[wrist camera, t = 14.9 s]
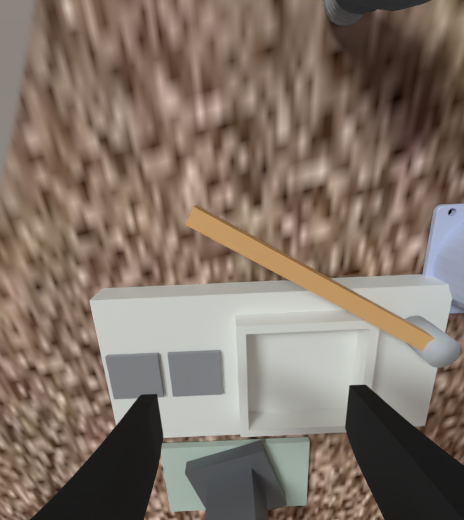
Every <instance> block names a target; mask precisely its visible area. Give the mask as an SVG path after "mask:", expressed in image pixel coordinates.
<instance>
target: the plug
mask: <svg viewBox="0 0 464 520" xmlns="http://www.w3.org/2000/svg"><path fill="white" fill-rule="evenodd" d="M185 475H186V476H187V478H188V480H189V482H190V483H191V485H192V487H193V488H194V490H195V492H196V493H197V495H198V497H199V499H200V500H201V502H202V504H203V505H204V507H205V509H206V514H205V520H269V518H268V510H271V509H275V508H279V507H283V506H286V505H287V501H286V496H285V492H284V490H283V487H282V485H281V483H280V481H279V479H278V476H277V474H276V472H275V470H274V467H273V465H272V463H271V461H270V458H269V456H268V454H267V452H266V450H265V447H264V445H263V443H262V441H261V440H260V441H256V442H253V443H249V444H246V445H242V446H239V447H236V448H232V449H229V450H225V451H222V452H219V453H215V454H212V455H208V456H205V457H201V458H198V459H195V460H191V461H188V462H186V469H185Z"/></svg>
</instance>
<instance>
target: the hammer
mask: <svg viewBox="0 0 464 520" xmlns="http://www.w3.org/2000/svg"><path fill="white" fill-rule="evenodd" d="M185 225H187V226H189V227H191V228H192V229H194V230H196V231H198V232H200V233H202V234H204V235H206V236H207V237H209V238H211V239H213V240H215V241H217V242H219V243H221V244H222V245H224V246H226V247H228V248H230V249H232V250H234V251H236V252H237V253H239V254H241V255H243V256H245V257H247V258H249V259H251V260H253V261H254V262H256V263H258V264H260V265H262V266H264V267H266V268H268V269H269V270H271V271H273V272H275V273H277V274H279V275H281V276H283V277H284V278H286V279H288V280H290V281H292V282H294V283H296V284H298V285H299V286H301V287H303V288H305V289H307V290H309V291H311V292H313V293H314V294H316V295H318V296H320V297H322V298H324V299H326V300H328V301H329V302H331V303H333V304H335V305H337V306H339V307H341V308H343V309H344V310H346V311H348V312H350V313H352V314H354V315H356V316H358V317H359V318H361V319H363V320H365V321H367V322H369V323H371V324H373V325H375V326H376V327H378V328H380V329H382V330H384V331H386V332H388V333H390V334H391V335H393V336H395V337H397V338H399V339H401V340H403V341H405V342H406V343H407V344H408V345H409V346H410V347H411V348H412V349H413V350H414V351H415V352H416V353H418V354H419V355H420V356H421V357H422V358H423V359H424V360H425V361H426V362H427V363H428V364H429V365H431V366H433V367H436V368H441V367H446V366H448V365H450V364H452V363H453V362H454V361H455V360H456V359H457V358H458V356H459V354H460V346H459V344H458V342H456V341H455V340H454V339H452V338H451V337H450V336H448V335H447V334H446V333H444V332H443V331H441V330H440V329H439V328H437V327H436V326H435V325H433V324H432V323H431V322H429V321H428V320H426V319H425V318H424V317H422V316H418V315H414V316H410V317H408V318H406V319H403V318H402V317H400V316H398V315H396V314H394V313H392V312H391V311H389V310H387V309H385V308H383V307H382V306H380V305H378V304H376V303H374V302H372V301H371V300H369V299H367V298H365V297H363V296H361V295H360V294H358V293H356V292H354V291H352V290H351V289H349V288H347V287H345V286H343V285H341V284H340V283H338V282H336V281H334V280H332V279H331V278H329V277H327V276H325V275H323V274H321V273H320V272H318V271H316V270H314V269H312V268H310V267H309V266H307V265H305V264H303V263H301V262H300V261H298V260H296V259H294V258H292V257H290V256H289V255H287V254H285V253H283V252H281V251H280V250H278V249H276V248H274V247H272V246H270V245H269V244H267V243H265V242H263V241H261V240H259V239H258V238H256V237H254V236H252V235H250V234H249V233H247V232H245V231H243V230H241V229H239V228H238V227H236V226H234V225H232V224H230V223H229V222H227V221H225V220H223V219H221V218H219V217H218V216H216V215H214V214H212V213H210V212H208V211H207V210H205V209H203V208H201V207H199V206H198V205H196V206H194V208H193V210H192V212H191V214H190V216H189V218H188V220H187V222H186V224H185Z"/></svg>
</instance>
